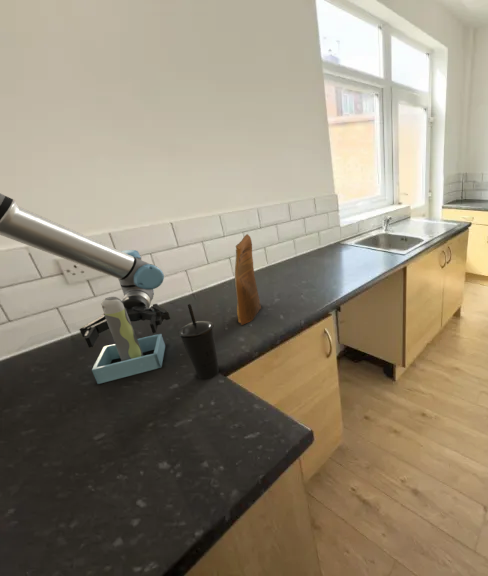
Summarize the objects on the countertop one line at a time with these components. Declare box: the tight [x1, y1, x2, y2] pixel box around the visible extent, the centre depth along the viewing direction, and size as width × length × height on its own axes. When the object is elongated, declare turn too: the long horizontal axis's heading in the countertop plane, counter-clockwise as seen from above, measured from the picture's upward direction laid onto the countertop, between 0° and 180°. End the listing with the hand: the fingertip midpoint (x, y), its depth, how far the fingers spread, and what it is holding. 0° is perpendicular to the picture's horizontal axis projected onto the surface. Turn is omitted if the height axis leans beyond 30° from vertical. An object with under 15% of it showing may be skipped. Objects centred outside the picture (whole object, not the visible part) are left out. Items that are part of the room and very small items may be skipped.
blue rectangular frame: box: [91, 333, 166, 385], centre depth 88 cm, size 14×13×4 cm
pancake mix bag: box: [234, 233, 262, 326], centre depth 110 cm, size 7×19×28 cm, turn 3°
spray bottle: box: [100, 296, 145, 362], centre depth 85 cm, size 5×5×20 cm
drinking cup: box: [177, 303, 220, 380], centre depth 79 cm, size 8×8×20 cm
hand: (122, 335), depth 83 cm, fingers open, 13 cm apart
